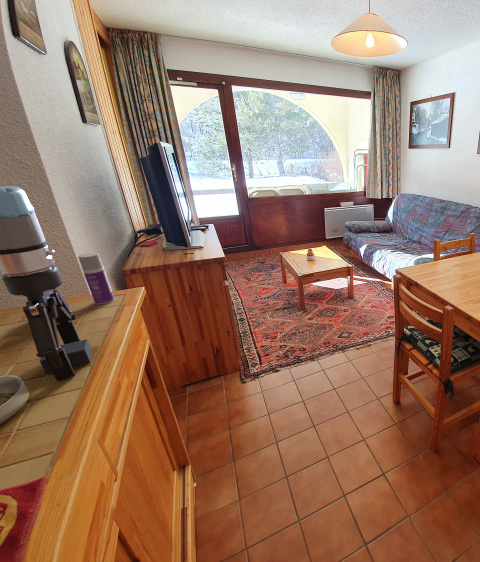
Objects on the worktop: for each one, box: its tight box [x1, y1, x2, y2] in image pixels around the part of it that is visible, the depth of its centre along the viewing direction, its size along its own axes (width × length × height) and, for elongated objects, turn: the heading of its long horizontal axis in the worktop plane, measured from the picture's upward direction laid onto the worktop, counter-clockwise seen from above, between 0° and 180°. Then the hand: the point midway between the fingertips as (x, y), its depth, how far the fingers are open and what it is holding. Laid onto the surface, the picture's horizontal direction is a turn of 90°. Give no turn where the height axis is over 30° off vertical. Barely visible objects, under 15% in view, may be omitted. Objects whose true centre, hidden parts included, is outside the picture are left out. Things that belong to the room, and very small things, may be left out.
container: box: [77, 252, 116, 306], centre depth 92 cm, size 5×5×15 cm
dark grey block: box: [39, 338, 93, 375], centre depth 67 cm, size 7×5×4 cm
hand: (70, 361), depth 68 cm, fingers open, 12 cm apart
